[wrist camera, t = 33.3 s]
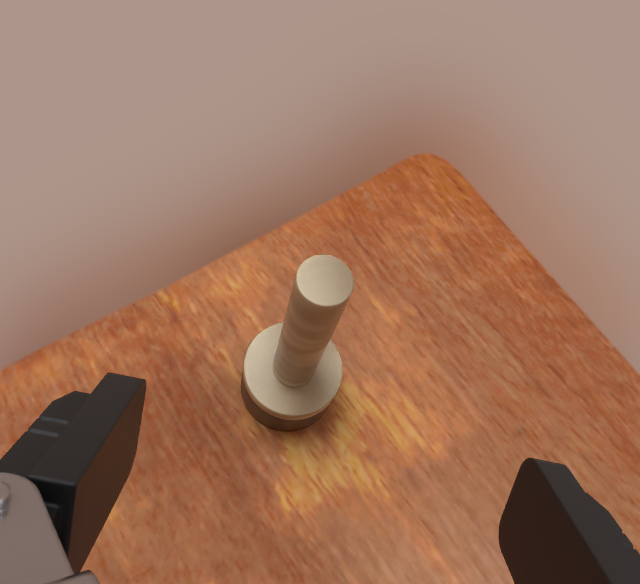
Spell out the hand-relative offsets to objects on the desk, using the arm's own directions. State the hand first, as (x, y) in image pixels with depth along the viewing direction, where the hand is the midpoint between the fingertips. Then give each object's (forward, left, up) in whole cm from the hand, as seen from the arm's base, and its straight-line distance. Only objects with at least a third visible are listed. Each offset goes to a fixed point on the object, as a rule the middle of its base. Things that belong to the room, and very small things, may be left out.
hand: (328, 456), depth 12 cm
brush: (+5, +8, -23) cm, 24 cm away
